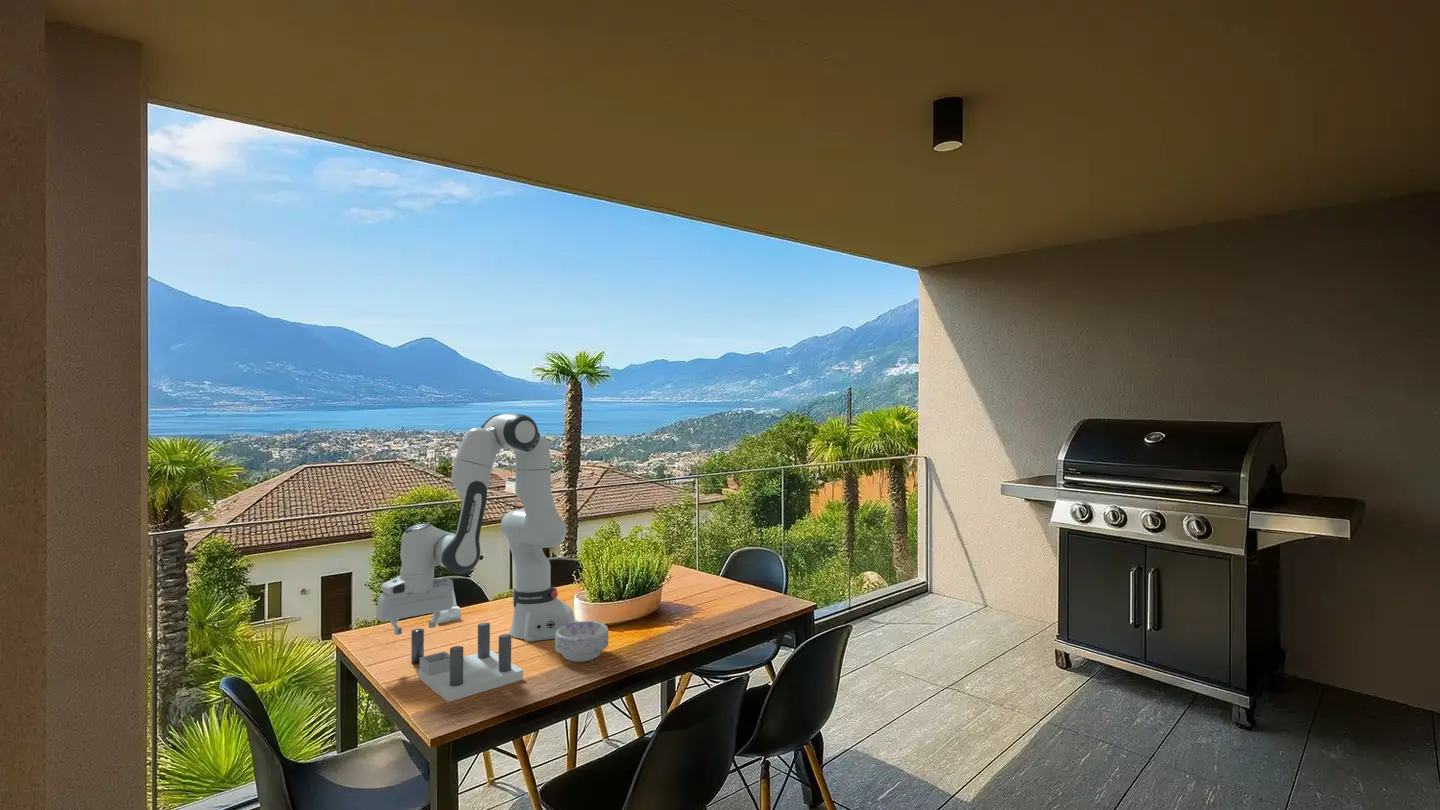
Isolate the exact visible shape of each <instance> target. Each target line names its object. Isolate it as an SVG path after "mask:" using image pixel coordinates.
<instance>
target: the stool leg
mask: <svg viewBox="0 0 1440 810" xmlns="http://www.w3.org/2000/svg"><path fill="white" fill-rule="evenodd" d="M424 634H425V629H424V628H415V629H412V630H411V639H410V640H411V645H410V647H411V652H410V653H411V660H410V661H411V662H410V663H411V665H412V664H413V665H420V657H424V655H425V653H424V652H425V649H424V648H425V647H424V646H425V644H424V643H425V639H424V638H425V635H424Z"/></svg>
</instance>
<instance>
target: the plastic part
mask: <svg viewBox="0 0 1440 810" xmlns="http://www.w3.org/2000/svg"><path fill="white" fill-rule="evenodd" d="M454 589H455V588H454V587H453V590H452V594H453V606H452V608H451V609H450V610H444V611H441V612H440V616H439V618H438V620H437V621H436V625H439V623H440V624H444V622H445V623H449V621H450V622H454V620H455V621H459V619H460V620H461V617H462V610H461V608H460V606H458V605H457V601H456V600H457V599H456V594H455V591H454ZM433 617H434V614H433V615H431V616H430V617H429V618H430V619H433Z"/></svg>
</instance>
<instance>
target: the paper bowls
mask: <svg viewBox="0 0 1440 810" xmlns="http://www.w3.org/2000/svg"><path fill="white" fill-rule="evenodd" d="M554 640H555V642H554V643H555V644H554V646H555V651H556V652H557V653H559V654H562V656H563V658H564V659H566V660H567V661H569V662H573V663H574V662H575V663H584V662H588V661H592V660H595V659H597V658H598V657H599V656H600V655H601V652H602V651H603V650H605V649H607V647H608V646H609V628H608V626H607V625H606V624H604V623H602V622H597V621H592V620H591V621H579V622H574V623H569V624H566V625H563V626H561V627H560V628H558V629H557V630H556V632H555V638H554ZM594 658H595V659H594Z"/></svg>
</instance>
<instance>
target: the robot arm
mask: <svg viewBox="0 0 1440 810" xmlns="http://www.w3.org/2000/svg"><path fill="white" fill-rule="evenodd" d="M502 449H504V450H511V449H512V451H513V453H514V456H515V466H514V467H515V474H514V475H515V477H514V478H515V480H514V481H515V484H514V485H515V486H514V487H515V488H514V489H515V494H516V497H517V498H518V499H519V500H520V502H521V504H522V507H523V509H515V510H510V511H508V512H507V513H506V514H504V516H503V517H502V519H501V522H500V532H501V534H502V535H503V537H504V538H505V540H506V542H507V543H508V546H509V549H510V552H511V555H512V560H513V563H514V564H513V565H514V589H513V592H512V604H513V607H514V609H513V617H512V622H511V626H510V631H509V634H510V635H511V637H512V636H513V638H515V639H519V638H520V640H523V639H524V641H525V642H528V641H530V642H538V641H545V640H552V639H554V640H555V632H556V630H557V629H558V628H560V627H561V626H563V625H566V624H569V623H574V622H578V621H579V620H577V619H575V614H574V612H573V608H571V606H569V604H567V603H565V602H564V601H562V600H561V599H559V598H558V591H557V590H558V589H557V588H556V586H552V585H551V562H550V559H548V557H547V556H546V555H545V553H544V550H543V549H545V548H549V549H550V548H554V547H557V546H560V545H561V544H562V543H563V541H564V540H565V538H566V535H567V524H566V521H565V520H564V519H563V518H562V517H561V515H560V514H559V512H558V510H557V508H556V504H555V501H554V498H553V493H552V471H551V469H552V465H551V463H552V461H551V454H550V453H551V452H550V447H549V442H548V439H546V437H544V436H543V435H540V432H539V429H538V426H537V424H536V421H534V420H533V418H531V417H530V416H528V415H525V414H523V413H522V414H521V413H519V414H517V413H511V412H510V413H504V414H502V413H501V414H500V413H499V414H494V415H492V416H490V417H489V418H487V419H486V420H485V421H484V423H483V424H482V425H481V426H480V427H473V428H471V429H469V430H468V431H467V432H466V433H465V435H464V437H463V439H462V440H461V442H460V445H459V447H458V450H457V453H456V454H455V458H454V462H453V466H452V470H451V479H450V480H451V484H452V486H453V487H454V488H455V490H456V491H457V493H458V495H459V497H460V500H461V510H460V514H459V520H458V523H457V529H456V532H455V533H454V532H449V531H446V530H442V529H440V528H437V527H435V526H433V524H431V523H418V524H414V525H411V526H409V527H408V528H406V529H405V530H404V532H403V535H402V539H401V543H400V561H401V567H400V570H399V571H400V572H399V575H398V576H396V577H394V578H392V579H390V580H387V581H385V582H382V584H381V585H380V588H381V589H380V590H381V591H382V592H381V593H380V594H379V596H378V599H377V604H376V612H375V615H376V618H377V620H379V621H381V622H383V623H384V622H388V621H389V623H390V624H391V626H392V628H393V630H394V631H393V634H394V635H395V636H399V635H402V633H403V632H402V630H403V628H402V627H401V626H398V625H397V624H398V623H399V620H401V619H406V618H411V617H416V616H422V615H427V614H433V615H434V617H433V618H431V620H428V628H429V629H434V628H437V623H436V621H438V618H439V616H440V612H441V611H444V610H450V609H451V608H452V606H453V594H452V590H453V588H454V581H453V580H452V579H451V578H449V577H442V578H435V577H434V576H435V573H434V572H435V568H436V567H439V566H440V567H443V568H445V569H447V570H448V571H449V572H451V573H452V574H454V575H455V574H456V575H462V574H467V573H468V572H470V571H472V570H473V569H474V568H475V567H476V566H477V564H478V563H479V561H480V558H481V546H480V545H481V544H480V536H481V531H482V530H481V529H482V525H483V519H484V515H485V510H486V505H487V499H488V498H487V497H488V488H489V483H490V478H491V474H492V471H493V467H494V464H495V463H494V462H495V458H496V457H497V455H498V453H499V451H501V450H502ZM453 591H454V590H453Z"/></svg>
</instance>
